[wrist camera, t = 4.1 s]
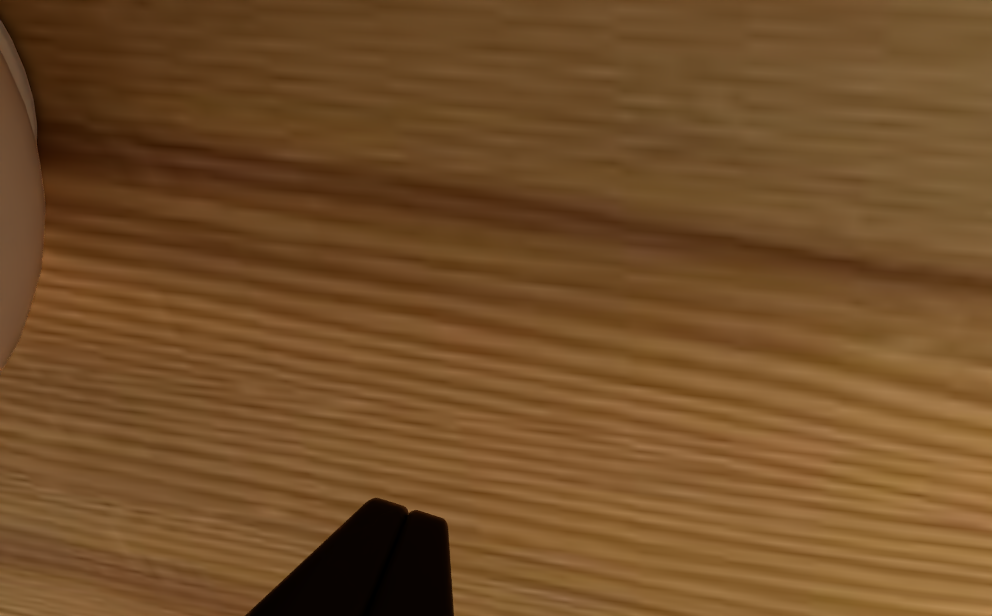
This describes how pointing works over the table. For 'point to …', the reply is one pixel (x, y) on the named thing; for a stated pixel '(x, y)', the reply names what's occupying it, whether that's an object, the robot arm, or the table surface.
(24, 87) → the trinket box
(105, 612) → the table surface
